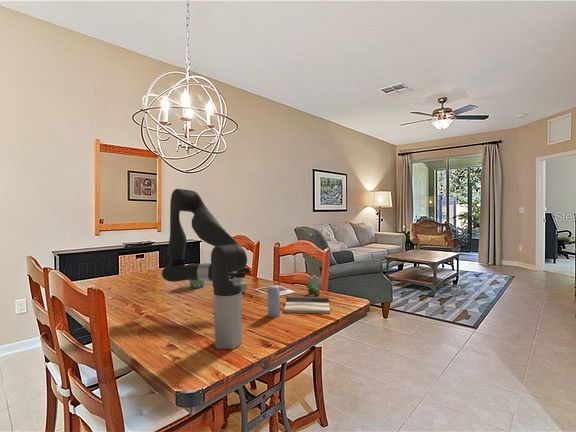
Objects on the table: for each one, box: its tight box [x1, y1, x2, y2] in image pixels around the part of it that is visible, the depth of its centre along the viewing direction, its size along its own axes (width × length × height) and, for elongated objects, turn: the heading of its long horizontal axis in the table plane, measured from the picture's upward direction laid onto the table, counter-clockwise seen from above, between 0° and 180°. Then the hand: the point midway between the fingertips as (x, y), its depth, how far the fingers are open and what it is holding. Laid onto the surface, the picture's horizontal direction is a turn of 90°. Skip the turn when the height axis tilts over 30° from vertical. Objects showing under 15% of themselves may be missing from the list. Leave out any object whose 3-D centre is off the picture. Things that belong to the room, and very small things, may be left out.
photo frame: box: [254, 284, 296, 297], centre depth 169 cm, size 15×1×18 cm
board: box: [283, 296, 331, 314], centre depth 141 cm, size 14×20×3 cm
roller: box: [267, 284, 281, 318], centre depth 132 cm, size 5×5×12 cm
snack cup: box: [188, 280, 206, 289], centre depth 180 cm, size 16×10×10 cm
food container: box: [307, 273, 322, 297], centre depth 161 cm, size 12×6×10 cm, turn 168°
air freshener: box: [232, 278, 249, 293], centre depth 168 cm, size 11×8×10 cm
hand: (247, 272), depth 133 cm, fingers open, 8 cm apart
